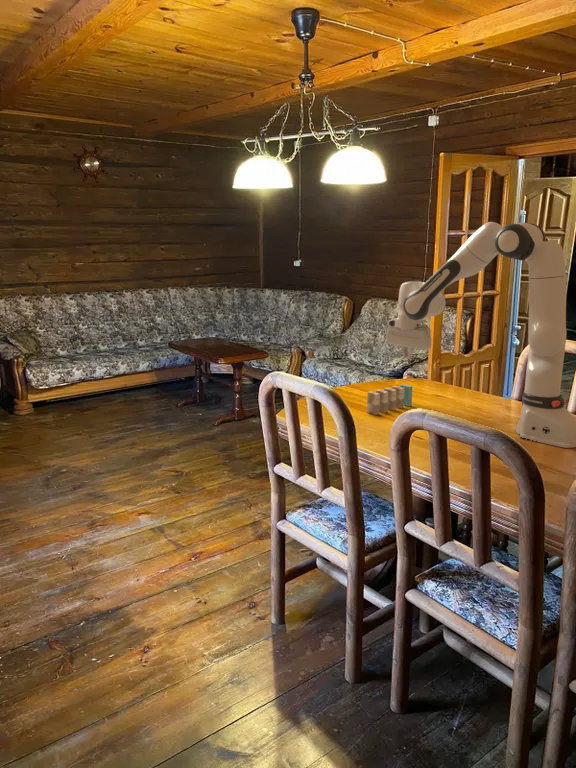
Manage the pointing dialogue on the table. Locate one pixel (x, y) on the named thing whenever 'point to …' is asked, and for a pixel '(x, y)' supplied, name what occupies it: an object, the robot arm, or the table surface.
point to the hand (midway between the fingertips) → (407, 358)
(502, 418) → the table surface
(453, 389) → the table surface
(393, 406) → the domino
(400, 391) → the domino
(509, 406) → the table surface
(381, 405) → the domino
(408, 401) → the domino
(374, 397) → the domino
